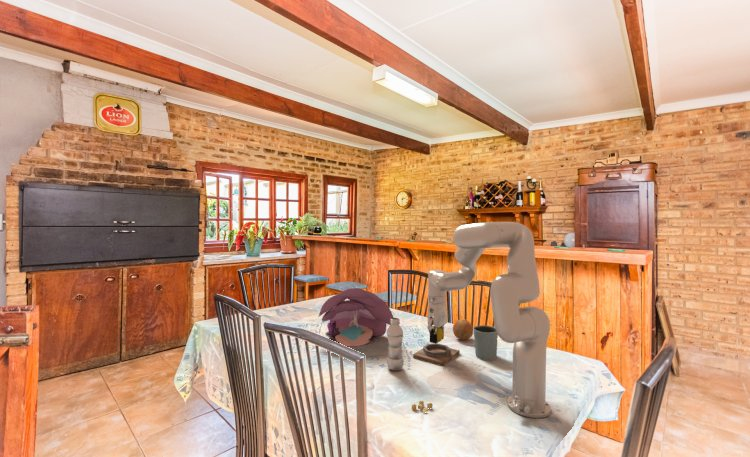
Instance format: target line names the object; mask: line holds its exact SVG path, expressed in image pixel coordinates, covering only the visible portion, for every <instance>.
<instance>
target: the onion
mask: <svg viewBox="0 0 750 457" xmlns="http://www.w3.org/2000/svg"><path fill="white" fill-rule="evenodd" d="M473 328H474V327H473V325H472V323H471V322H470V321H469V320H467V319H465V318H462V319H460V318H459V319H458V320H456V321H455V322H454V323H453V326H452V332H453V334H454V336H455V337H456V338H457V339H458V340H460V341H466V340H469V339H471V338H472V337H473V336H474V330H473Z"/></svg>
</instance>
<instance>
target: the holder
mask: <svg viewBox="0 0 750 457" xmlns="http://www.w3.org/2000/svg"><path fill="white" fill-rule="evenodd" d="M460 353H461V352H460V349H456V348H455V349H454V348H451V347H449V346H448V345H445V344H443V343H442V344H441V343H436V344H435V343H427V344H426V345H423V346H422V348H421V349H420V350H418V351H416V352H415V353H413V355H412V356H413V359H416V360H420V361H424V362H426V363H431V364H435V365H437V366H442V367H444V366H446V365H447V364H449V362H451V361H452V360H453V359H455V358H456V357H457V356H459V355H460Z"/></svg>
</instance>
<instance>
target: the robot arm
mask: <svg viewBox="0 0 750 457" xmlns="http://www.w3.org/2000/svg"><path fill="white" fill-rule="evenodd" d="M452 241H453V243H454V246H455V247H457V249H456V250H455V251H454V258H455V259H456V262H458V264H460V265H462V267H461V268H460V269H459V270H458V271H457V270H456V271H448V272H446V271H444V270H441V269H432V270H429V271H428V274H427V276H428V279H427V280H428V281H427V282H428V284H427V286H428V287H427V289H428V294H427V295H428V296H427V297H428V298H427V299H428V300H427V303H428V305H427V306H428V308H427V326H426V328H427V330H428V333H429V343H430V344H436V343H437V334H436V331H437V328H439V327H441V328H442V330H443V339H442V340H444V338H445V337H444V336H445V332H444V331H445V325H446V324H447V323H448V309H447V308H448V307H447V292H451V291H458V290H460V291H461V290H464V289H465V288H467V287H469V285H470V284H471V283H472V281H473V279H475V276H476V272H477V267H476V263H477V261H478V260H479V258H480V257H481V256H482V254H483V253H484V252H485V251H486V249H495V248H509V250H508V252H507V257H506V265H507V273H504V274H500V275H497V276H496V277H495V278H494V279H493V280H492V283H491V285H490V291H489V292H490V301H491V302H490V303H491V309H492V310H491V311H492V316H493V324H494V327H495V329H496V332H497V334H498V337H499V338H500V339H501V340H502V341H503V342H504V343H506V344H507V343H508V344H513V347H512V392H511V393H512V394H511V395H509V396H507V399H506V404H507V406H508V407H509V409H510V410H511V411H512V412H514V413H516V414H518V415H521V416H523V417H527V418H532V419H533V418H534V419H542V418H545V417H548V416H550V415H551V414H552V410H551V409H552V406H551V405H550V404H549V403H548V402H547V401H546V389H547V388H546V386H547V385H546V384H547V383H546V381H547V378H546V376H547V346H548V339H549V336H550V331H551V323H550V322H551V321H550V318H549V316H548V314H547V313H546V311H545V310H543V309H542V308H539V307H537V306H530V305H529V306H523V307H520V305H521V304H527V303H531V302H534V301H536V300H537V299H538V298H539V297H540V292H541V290H540V283H539V282H540V280H539V275H538V269H537V262H536V254H535V253H536V252H535V240H534V235H533V232H532V231H531V230H530V228H529V227H527V226H526V225H524V224H523V223H520V222H516V221H484V222H477V223H468V224H461V225H459V226H458V227H456V229H454V231H453V235H452ZM432 327H433V328H435V329H432ZM437 344H438V343H437Z"/></svg>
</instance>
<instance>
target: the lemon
mask: <svg viewBox="0 0 750 457" xmlns="http://www.w3.org/2000/svg"><path fill="white" fill-rule="evenodd" d="M432 329H435V328H433V327H432ZM436 334H437V344H439V342H442V340H444V339H443V330H442V328H441V327H439V328H437V331H436Z"/></svg>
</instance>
